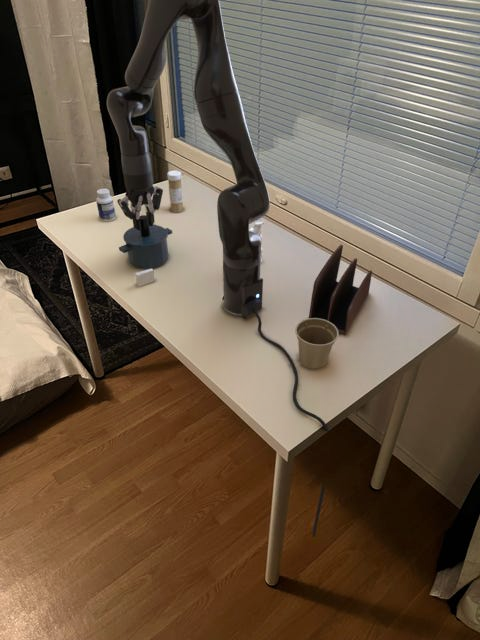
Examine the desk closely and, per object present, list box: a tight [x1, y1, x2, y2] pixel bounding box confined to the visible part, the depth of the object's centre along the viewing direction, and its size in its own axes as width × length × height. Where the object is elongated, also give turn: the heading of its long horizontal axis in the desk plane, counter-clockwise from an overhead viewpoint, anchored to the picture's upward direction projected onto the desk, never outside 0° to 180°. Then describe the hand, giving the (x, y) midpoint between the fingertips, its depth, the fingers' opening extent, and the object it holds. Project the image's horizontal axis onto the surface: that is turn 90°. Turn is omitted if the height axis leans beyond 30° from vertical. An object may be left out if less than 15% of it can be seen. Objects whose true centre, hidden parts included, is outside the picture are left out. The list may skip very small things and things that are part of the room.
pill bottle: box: [95, 187, 116, 222], centre depth 165 cm, size 5×5×10 cm
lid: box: [122, 214, 169, 247], centre depth 141 cm, size 13×13×7 cm
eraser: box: [134, 268, 155, 287], centre depth 137 cm, size 1×5×4 cm, turn 122°
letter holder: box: [308, 244, 373, 336], centre depth 124 cm, size 10×20×14 cm, turn 152°
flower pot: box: [294, 317, 340, 370], centre depth 111 cm, size 9×9×9 cm
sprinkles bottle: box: [166, 170, 185, 213], centre depth 169 cm, size 5×5×14 cm
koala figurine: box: [249, 220, 265, 263], centre depth 143 cm, size 8×7×12 cm
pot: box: [118, 227, 173, 270], centre depth 145 cm, size 12×17×7 cm
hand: (144, 226), depth 141 cm, fingers open, 3 cm apart
